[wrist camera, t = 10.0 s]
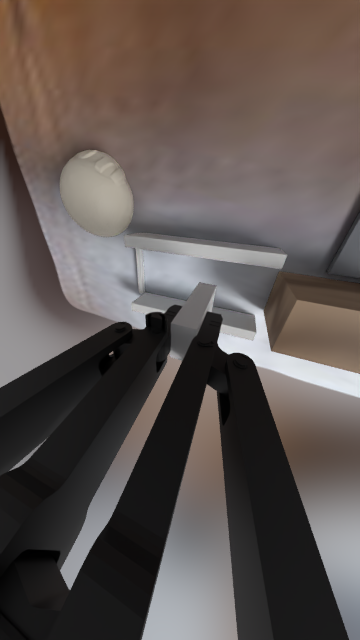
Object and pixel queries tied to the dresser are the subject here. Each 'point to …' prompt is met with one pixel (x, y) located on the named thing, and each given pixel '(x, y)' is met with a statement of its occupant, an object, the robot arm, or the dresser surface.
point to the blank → (315, 320)
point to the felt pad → (348, 254)
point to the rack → (208, 249)
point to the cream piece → (97, 193)
